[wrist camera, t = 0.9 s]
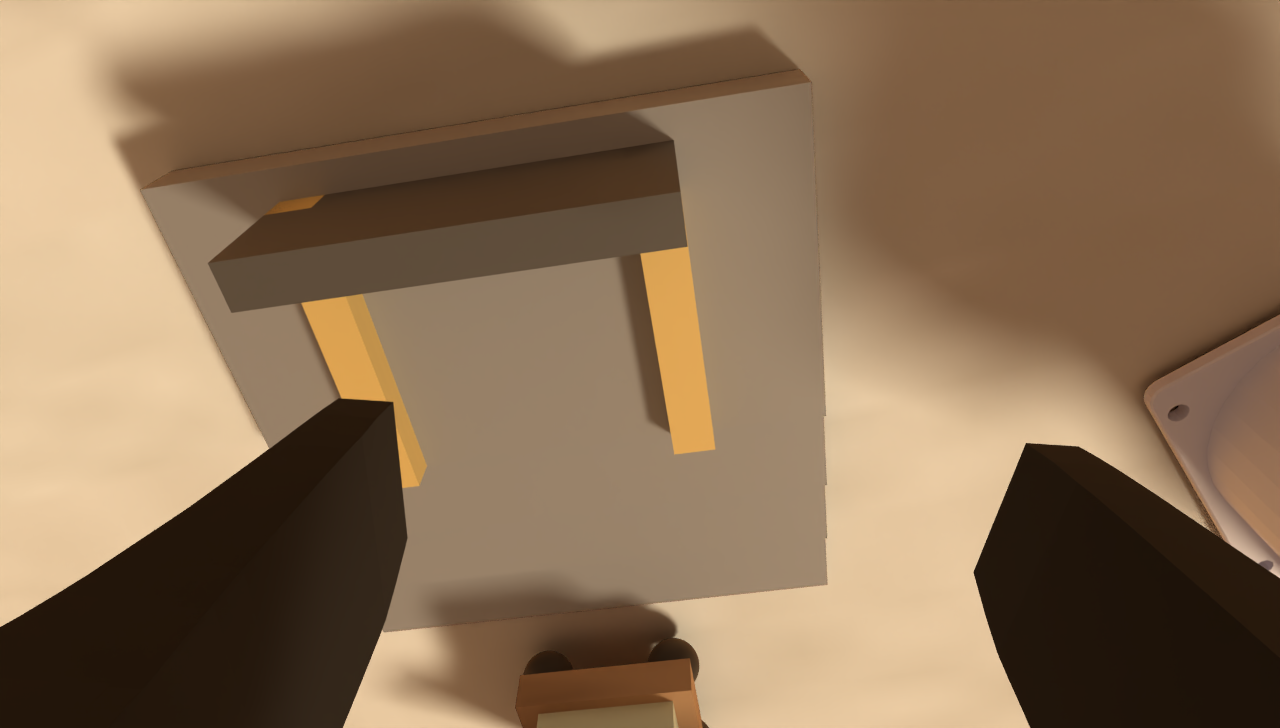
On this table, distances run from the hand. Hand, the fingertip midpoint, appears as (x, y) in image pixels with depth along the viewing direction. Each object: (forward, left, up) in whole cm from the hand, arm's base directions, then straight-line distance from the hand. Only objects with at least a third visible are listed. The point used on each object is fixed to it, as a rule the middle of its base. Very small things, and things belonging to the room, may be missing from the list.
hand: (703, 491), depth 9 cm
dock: (-2, +6, -10) cm, 12 cm away
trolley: (-12, +12, -10) cm, 20 cm away
